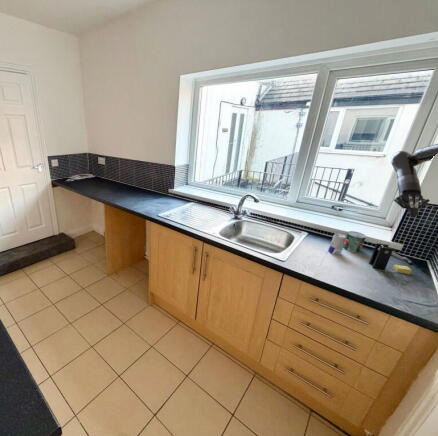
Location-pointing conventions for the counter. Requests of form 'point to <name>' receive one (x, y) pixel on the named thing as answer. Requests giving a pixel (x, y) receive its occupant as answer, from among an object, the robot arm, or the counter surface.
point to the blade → (401, 257)
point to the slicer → (381, 257)
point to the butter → (402, 269)
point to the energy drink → (337, 244)
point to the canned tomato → (354, 241)
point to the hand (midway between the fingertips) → (414, 216)
